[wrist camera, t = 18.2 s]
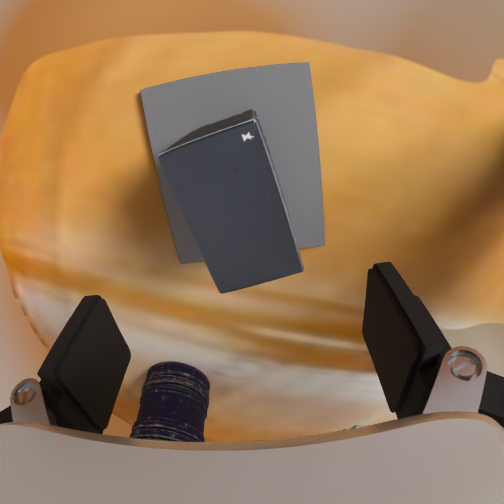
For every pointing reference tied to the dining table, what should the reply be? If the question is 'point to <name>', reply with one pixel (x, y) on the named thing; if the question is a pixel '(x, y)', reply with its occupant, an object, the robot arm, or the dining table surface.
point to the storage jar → (173, 404)
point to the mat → (272, 124)
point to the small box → (233, 202)
